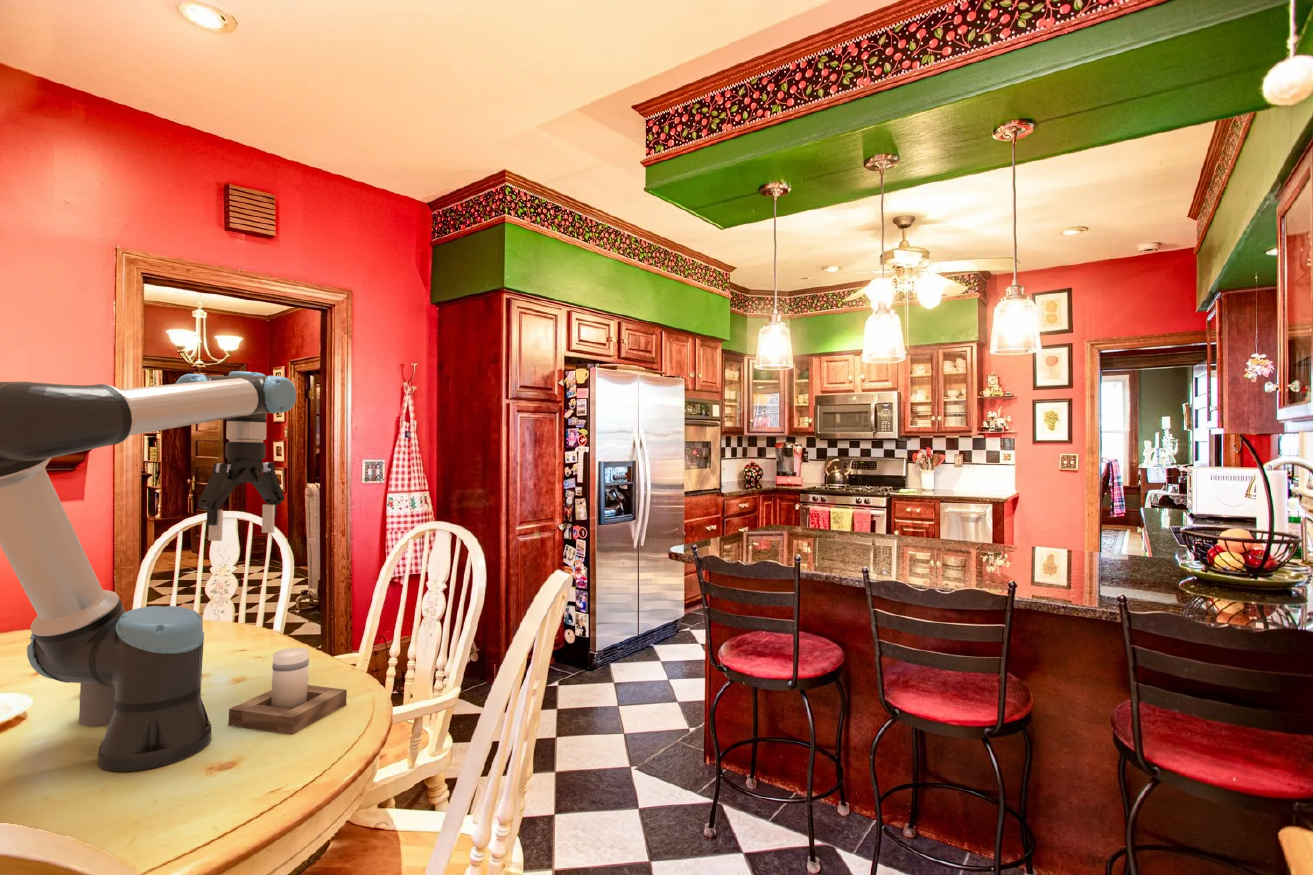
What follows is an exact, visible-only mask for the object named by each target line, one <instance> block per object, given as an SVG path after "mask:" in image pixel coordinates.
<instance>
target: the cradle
mask: <svg viewBox="0 0 1313 875" xmlns="http://www.w3.org/2000/svg"><path fill="white" fill-rule="evenodd" d="M347 691H348V690H347V689H345V688H336V687H327V686H320V685H311V684H308V686H307V702H305V703H303V704H301V705H299V706H297V707H295V708H293V709H286V708H278V707H271V703H272V689H271V690H268V691H267V692H264V693H262V694H260V695H258V696H255V697H252V698H251V699H249V700H246V701H244V702H242V703H240V704H237V705H235V706H232V707H230V708H228V726H231V725H234V726H233V727H237V726H238V727H239V728H246V729H253V730H259V731H267V732H272V731H274V732H275V733H279V734H287V735H293V734H294V735H295V733H297V732H299V731H302V729H304V728H306V727H308V726H310V725H311V724H313V723H315V722H318V721H319V720H321V719H322V718H325V717H326V716H328V715H330V714H332V713H334V712H335V711H337V710H339V709H340V708H343V707H344V706H345V707H346V705H347V694H348V693H347ZM274 732H273V733H274Z"/></svg>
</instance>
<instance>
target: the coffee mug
mask: <svg viewBox="0 0 1313 875" xmlns="http://www.w3.org/2000/svg"><path fill="white" fill-rule="evenodd" d="M79 685H80V688H79V689H80V690H79V710H78V712H79V713H78V714H79V715H78V716H79V717H78V724H79V725H81V726H82V727H89V728H91V727H92V728H95V727H105V726H106V727H108V726H109V723H110V721H111V718H112V716H113V713H114V701H115V686H107V685H96V684H85V683H80V684H79ZM107 725H108V726H107Z"/></svg>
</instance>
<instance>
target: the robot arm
mask: <svg viewBox="0 0 1313 875" xmlns="http://www.w3.org/2000/svg"><path fill="white" fill-rule="evenodd" d="M296 392H297V391H296V386H295V385H294V383H293V382H292V381H291V380H290V379H288V378H287V377H285V376H275V375H266V374H264V373H262V372H254V371H253V372H252V371H242V370H241V371H239V370H238V371H237V370H236V371H230V372H229V373H228V375H207V374H202V373H186V374H184V375H182V376H180V377H178V379H177V381H176V382H175V383H172V384H163V385H162V384H161V385H152V386H140V387H131V388H128V387H127V388H121V389H120V388H117V387H115V386H113V385H111V384H104V383H100V384H99V383H98V384H89V385H88V384H87V385H85V384H83V385H82V384H59V383H47V382H46V383H45V382H35V381H34V382H32V381H0V548H1V550H2V551H3V554H4V555H5V558H6V559H7V561H8V563H9V564H10V566H11V568H12V571H13V572H14V574H15V576H16V578H17V580H18V581H19V583H20V585H21V587H22V589H23V590H24V592H25V595H26V596H27V598H28V601H29V602H30V603H31V605H32V608H33V610H34V612H35V613H36V616H35V618H34V620H32V622H31V624H30V630H31V631H30V632H31V635H30V637H29V639H30V643H29V644H28V645H27V646H26V654H27V655H26V656H27V660H28V662H29V664H30V666H31V667H32V669H33V670H34V671H35V672H36V673H38V674H39V675H40V676H41V677H42V676H43V677H44V678H47V679H50V680H55V681H56V682H57V681H58V682H61V683H65V684H68V683H69V684H70V683H71V684H73V683H74V684H81V683H85V684H96V685H107V686H115V701H114V713H113V716H112V718H111V721H110V723H109V725H108V726H107V729H106V732H105V734H104V737H103V740H102V741H101V743H100V745H99V747H98V750H97V751H98V753H97V765H98V766H99V767H100V769H104V770H106V771H112V772H134V771H143V770H149V769H154V768H158V767H161V766H166V765H169V764H173V763H176V762H179V761H181V760H184V759H186V758H188V757H190V756H193V755H194V754H196V753H198V752H200V751H202V750H203V749H205V748H206V747H207V746H208V745H209V744H210V742H211V741H212V724H211V721H210V719H209V717H208V713H207V711H206V707H205V705H204V703H203V700H202V697H201V695H202V694H201V693H202V692H201V691H202V675H203V672H202V670H203V657H204V656H203V655H204V642H205V641H204V640H205V632H204V624H203V623H204V622H203V617H202V616H201V614H200V613H198V612H197V611H196V610H194V609H191V608H187V607H183V606H176V605H167V606H162V605H151V606H142V607H138V608H134V609H131V610H128V611H126V609H125V607H124V605H123V603H122V600H121V598H120V596H119V594H118V593H117V592H115V591H112V590H107V589H103V588H102V585H101V583H100V581H99V579H98V577H97V575H96V573H95V571H94V569H93V567H92V564H91V563H90V560H89V558H88V556H87V554H86V552H85V550H84V547H83V545H82V543H81V541H80V539H79V537H78V535H77V533H76V531H75V529H74V527H73V525H72V522H71V520H70V517H68V514H67V512H66V510H65V508H64V505H63V504H62V501H61V500H60V497H59V495H58V493H57V490H56V488H55V487H54V485H53V483H52V480H51V478H50V476H49V474H48V473H47V470H46V467H47V466H48V464H49V462H50V461H51V460H52V459H53V458H59V457H62V456H66V455H67V456H68V455H70V454H71V455H72V454H76V453H77V454H78V453H81V452H85V451H90V450H95V449H98V448H99V449H100V448H104V447H108V446H114V445H119V444H121V443H123V442H125V441H126V440H127V439H128V438H130V436H134V435H140V434H145V433H152V432H158V431H163V430H169V429H175V428H181V427H185V426H186V427H187V426H192V425H198V424H204V423H210V422H215V421H216V422H217V421H220V420H226V432H225V433H226V434H225V435H226V436H225V438H226V439H227V440H229V441H228V442H226V443H225V451H224V452H225V454H224V455H225V458H226V459H227V463H225V462H216V463H213V466H212V473H211V475H210V478H209V479H208V481H207V483H206V486H205V487H204V490H203V492H202V494H201V496H200V498H199V500H198V502H197V507H199V508H202V509H203V510H206V525H207V526H208V541H210V542H211V541H212V542H213V541H215V542H222V541H223V525H224V524H223V523H224V522H223V521H224V520H223V519H224V518H223V517H224V509H220V508H221V507H222V506H223V504H224V503H225V502H226V500H228V497H229V496H230V495H231V493H232V492H233V490H234V489H235V488H236V487H237V486H239V485H240V484H248V483H250V484H252V485H253V486H254V488H255V489H256V491H257V492H258V493H259V495H260V496H261V498H262V500H263V501H264V502H265V504H262V513H261V514H262V518H261V533H262V534H274V533H275V518H276V517H277V506H278V505H281V504H282V502H284V501H285V499H286V498H285V495H284V493H283V489H282V488H281V484H280V481H279V480H278V477H277V474H276V469H275V468H276V467H275V463H274V462H268V461H267V462H263V459H266V449H267V448H266V446H267V445H266V443H265V442H264V441H265V440H267V416H268V415H267V414H272V415H273V414H277V413H278V414H279V413H287V412H289V411H291V409H293V407H294V406H295V403H296V401H297V395H296V394H297V393H296Z"/></svg>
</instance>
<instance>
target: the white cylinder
mask: <svg viewBox="0 0 1313 875" xmlns="http://www.w3.org/2000/svg"><path fill="white" fill-rule="evenodd" d="M309 651H310V650H309V649H308V648H304V647H291V648H285V649H281V650H278V651H275V652H274V653H273V654H272V669H271V670H272V680H271V690H272V703H271V707H278V708H286V709H293V708H295V707H297V706H299V705H301V704H303V703H305V702H307V686H308V685H309V684H308V681H309V680H308V679H309V677H308V676H309V664H310V660H309V659H310V658H309V653H310V652H309Z"/></svg>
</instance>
